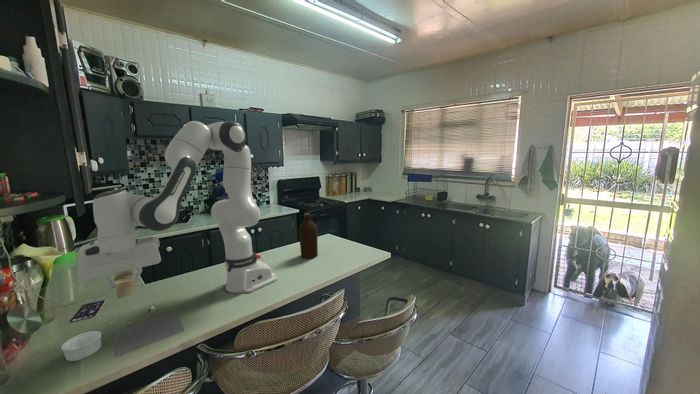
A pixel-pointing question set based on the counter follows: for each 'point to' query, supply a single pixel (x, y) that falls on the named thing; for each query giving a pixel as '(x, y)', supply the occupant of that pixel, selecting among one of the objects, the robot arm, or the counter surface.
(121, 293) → the birch block
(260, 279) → the robot arm
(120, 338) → the rubber mat
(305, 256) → the olive oil
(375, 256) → the counter surface
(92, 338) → the ramekin
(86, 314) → the smartphone
